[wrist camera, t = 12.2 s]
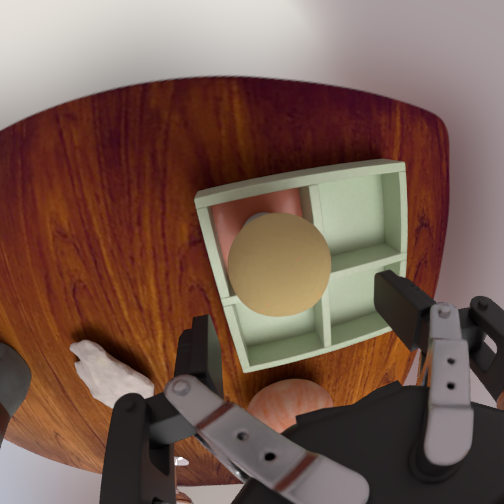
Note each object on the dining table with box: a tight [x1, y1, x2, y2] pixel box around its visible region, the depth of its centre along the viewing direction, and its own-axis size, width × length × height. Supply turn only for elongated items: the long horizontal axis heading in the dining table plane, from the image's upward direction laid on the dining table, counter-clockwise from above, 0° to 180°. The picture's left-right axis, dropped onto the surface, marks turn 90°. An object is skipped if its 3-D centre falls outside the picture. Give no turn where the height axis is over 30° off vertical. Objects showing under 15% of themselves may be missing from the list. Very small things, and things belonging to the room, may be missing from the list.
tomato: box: [247, 379, 333, 433], centre depth 29 cm, size 11×11×8 cm
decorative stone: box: [70, 340, 154, 408], centre depth 27 cm, size 11×4×15 cm
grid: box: [194, 159, 407, 373], centre depth 24 cm, size 17×17×4 cm
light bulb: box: [228, 212, 331, 317], centre depth 19 cm, size 6×6×10 cm
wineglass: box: [174, 456, 194, 504], centre depth 33 cm, size 7×7×12 cm
